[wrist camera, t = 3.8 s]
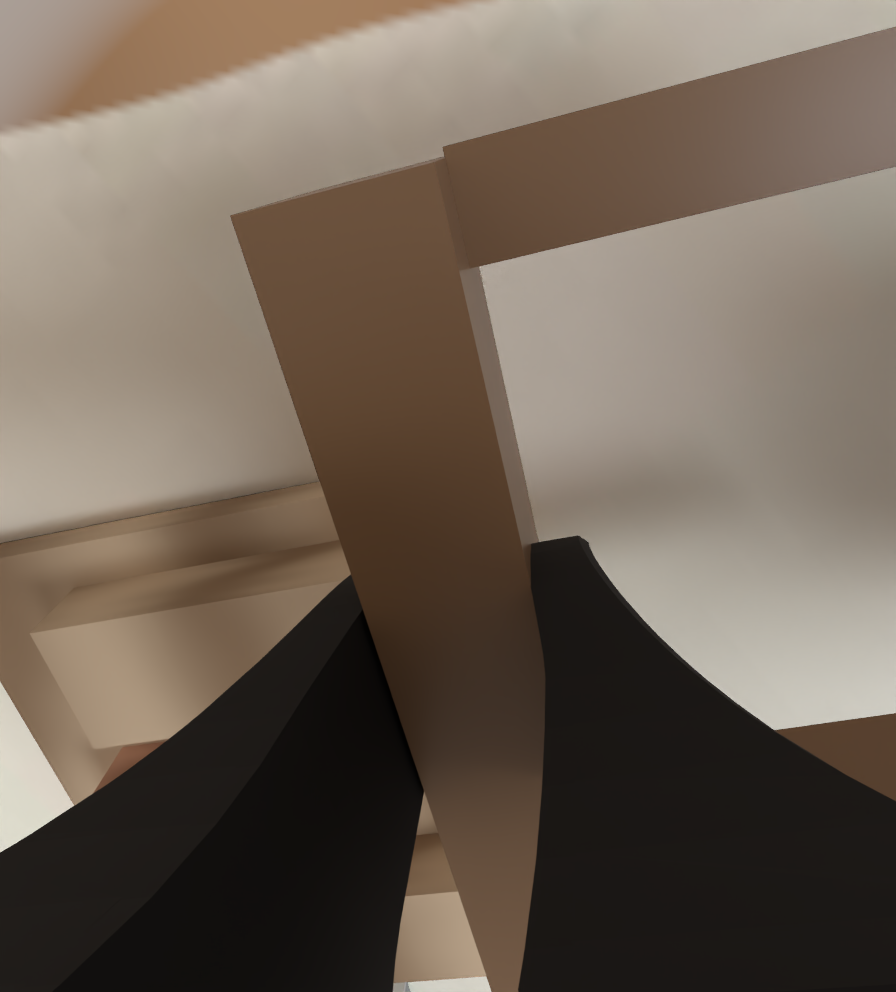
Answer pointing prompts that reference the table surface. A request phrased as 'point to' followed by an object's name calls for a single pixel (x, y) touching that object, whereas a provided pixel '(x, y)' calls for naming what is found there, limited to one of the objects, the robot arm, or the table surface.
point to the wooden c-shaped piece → (485, 409)
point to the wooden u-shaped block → (186, 655)
